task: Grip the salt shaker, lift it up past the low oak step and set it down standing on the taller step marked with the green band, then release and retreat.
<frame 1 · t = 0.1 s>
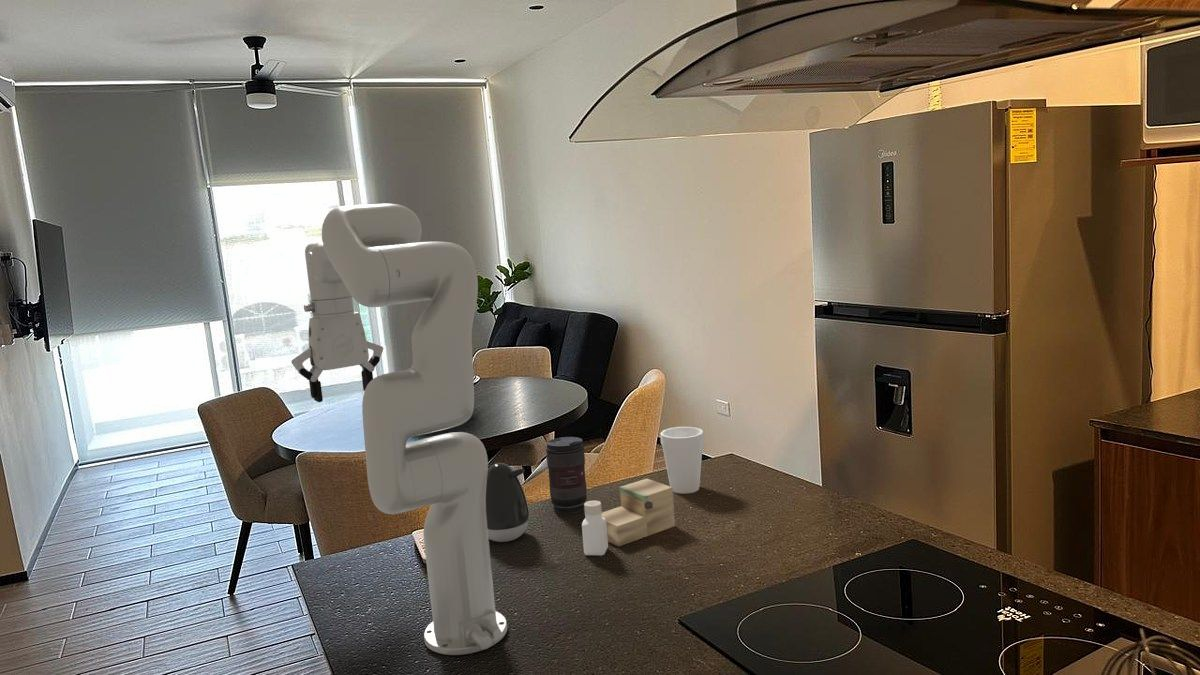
hand: (343, 396, 160), 31 cm above the countertop, tool pointing down, fingers open, 9 cm apart
wooden step block: (634, 530, 164), on the countertop
pump dispenser: (506, 538, 166), on the countertop
foam cup: (685, 489, 186), on the countertop
camera lens: (569, 509, 179), on the countertop
salt shaker: (596, 553, 155), on the countertop
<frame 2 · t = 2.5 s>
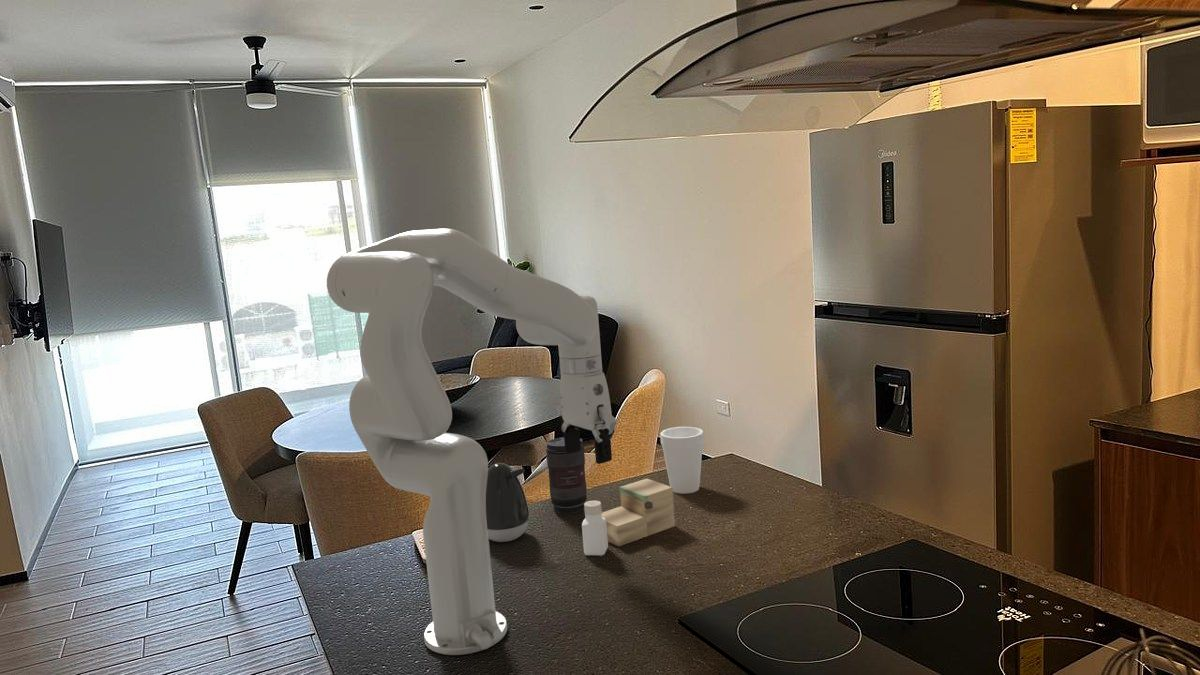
hand: (588, 456, 153), 18 cm above the countertop, tool pointing down, fingers open, 9 cm apart
nothing on the countertop moved.
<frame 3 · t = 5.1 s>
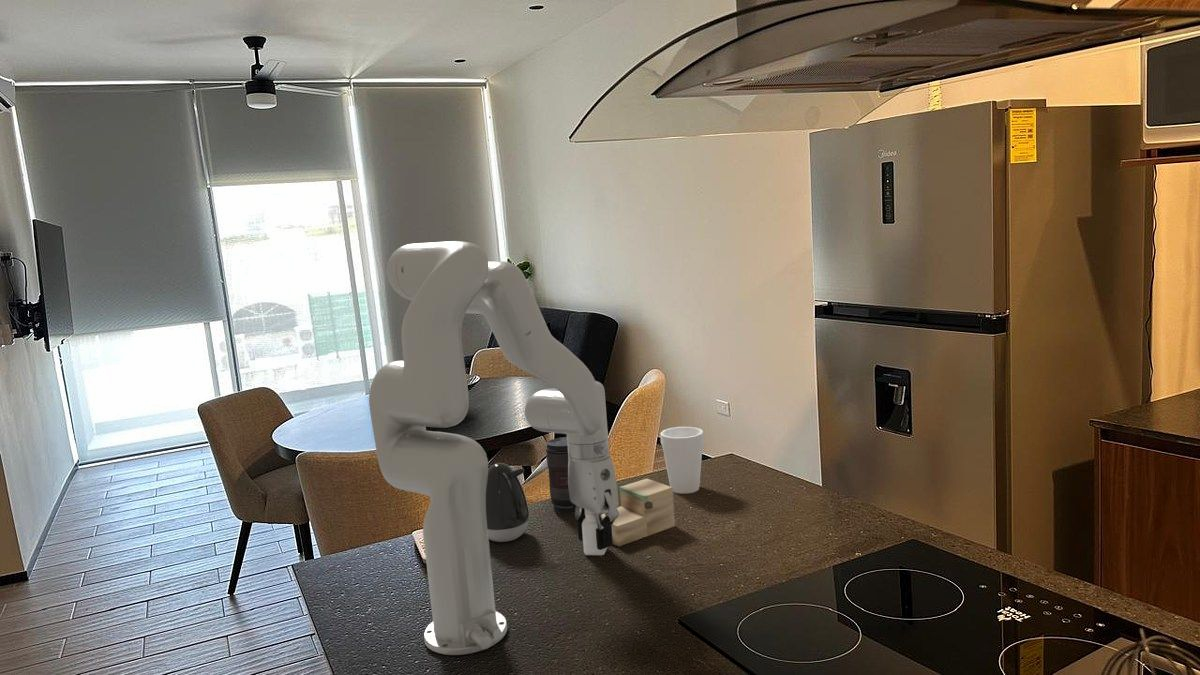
hand: (595, 541, 155), 2 cm above the countertop, tool pointing down, fingers closed on salt shaker, 5 cm apart
salt shaker: (596, 552, 155), on the countertop, touching gripper
everything else where it was.
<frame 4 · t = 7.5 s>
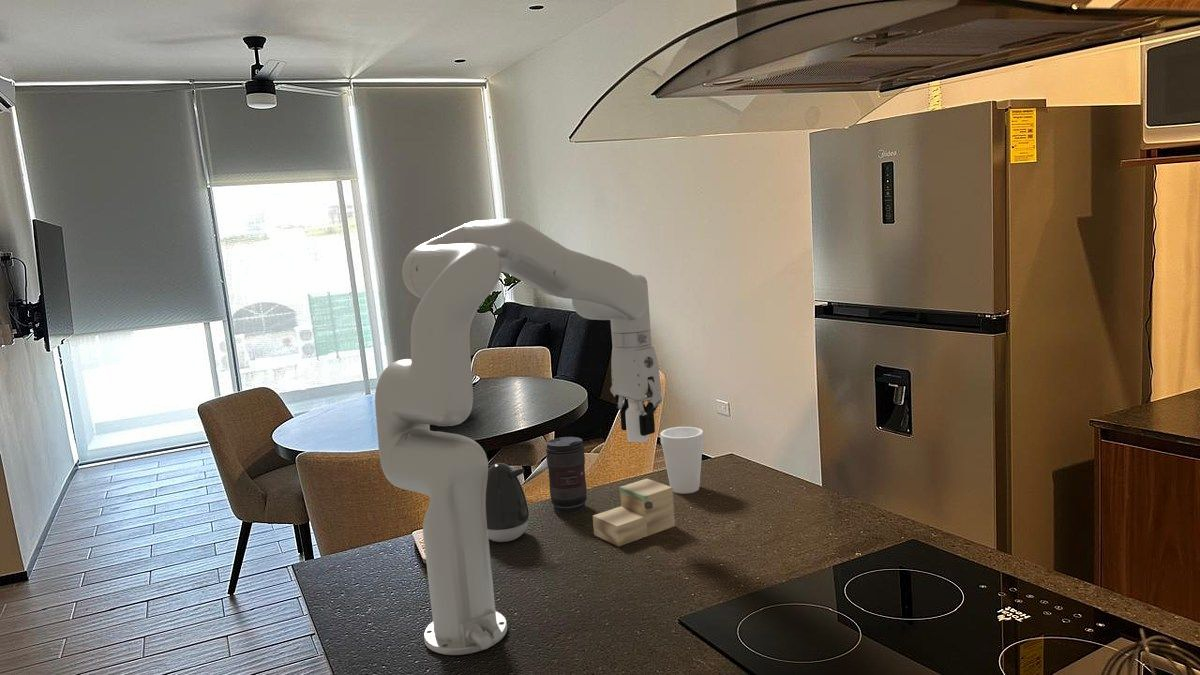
hand: (638, 430, 162), 20 cm above the countertop, tool pointing down, fingers closed on salt shaker, 5 cm apart
salt shaker: (638, 441, 163), point 18 cm above the countertop, touching gripper
everything else where it was.
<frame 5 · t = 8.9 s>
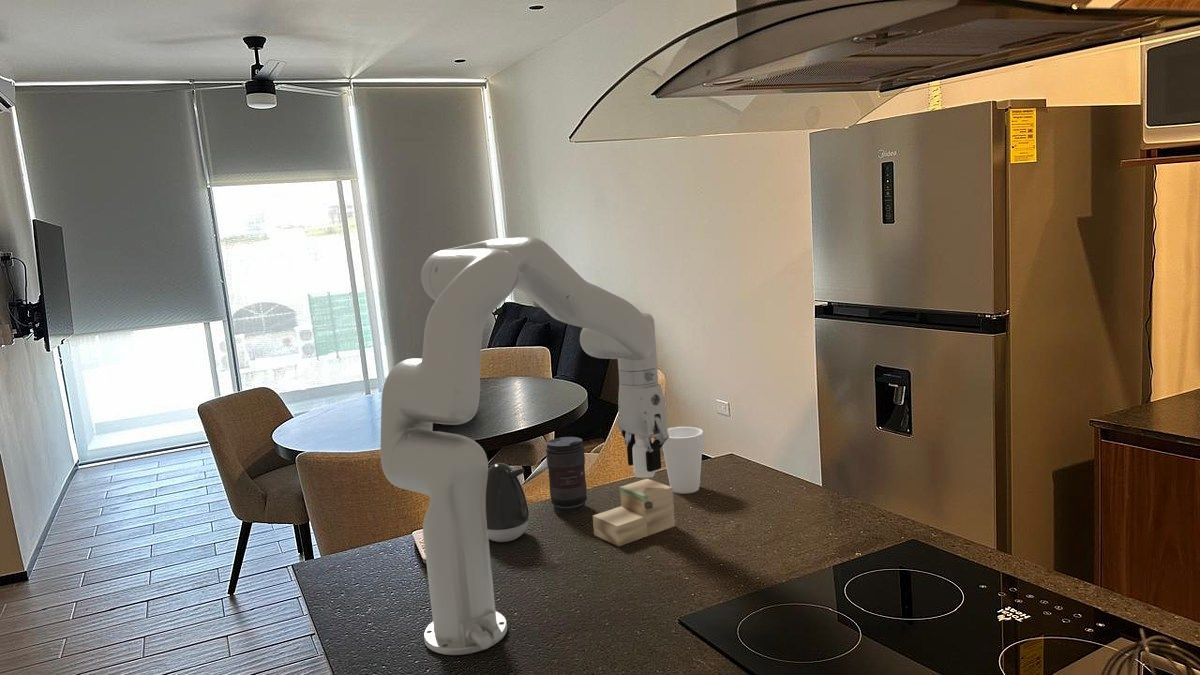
hand: (644, 465, 164), 12 cm above the countertop, tool pointing down, fingers closed on salt shaker, 5 cm apart
salt shaker: (645, 476, 165), point 10 cm above the countertop, touching gripper
everything else where it was.
when the fingers open (11 cm above the countertop, at t = 10.0 s): salt shaker stays where it is, resting on wooden step block.
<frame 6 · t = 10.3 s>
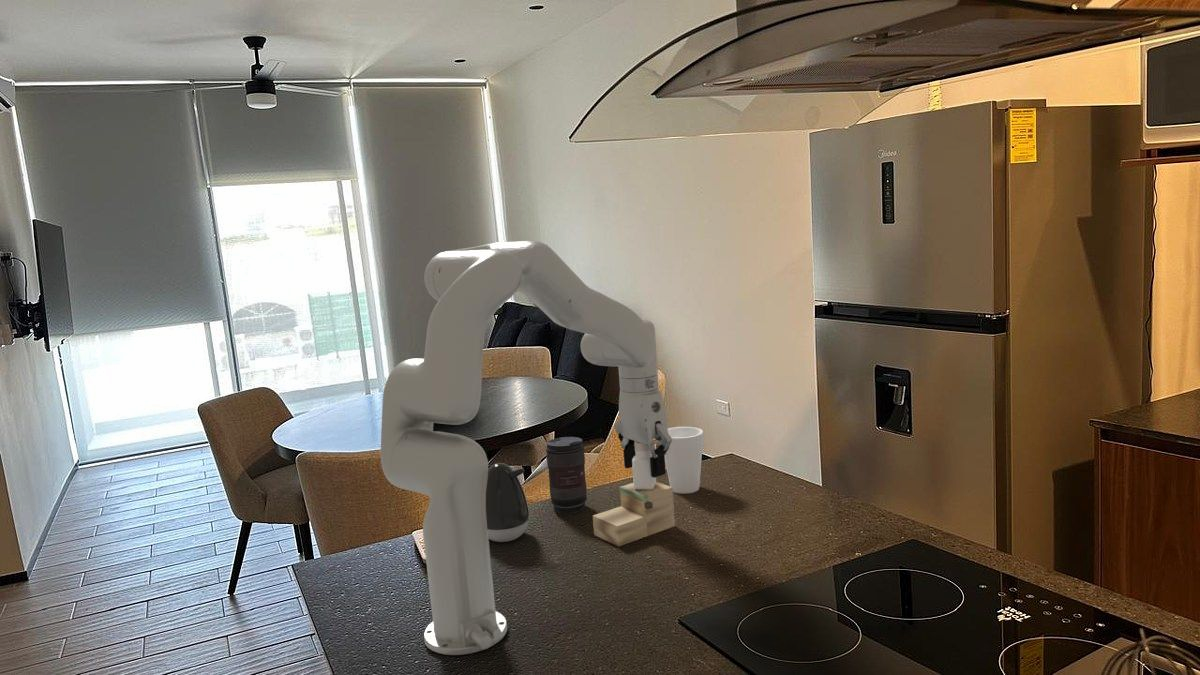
hand: (644, 470, 165), 11 cm above the countertop, tool pointing down, fingers open, 7 cm apart
salt shaker: (645, 488, 165), point 8 cm above the countertop, touching wooden step block
everything else where it was.
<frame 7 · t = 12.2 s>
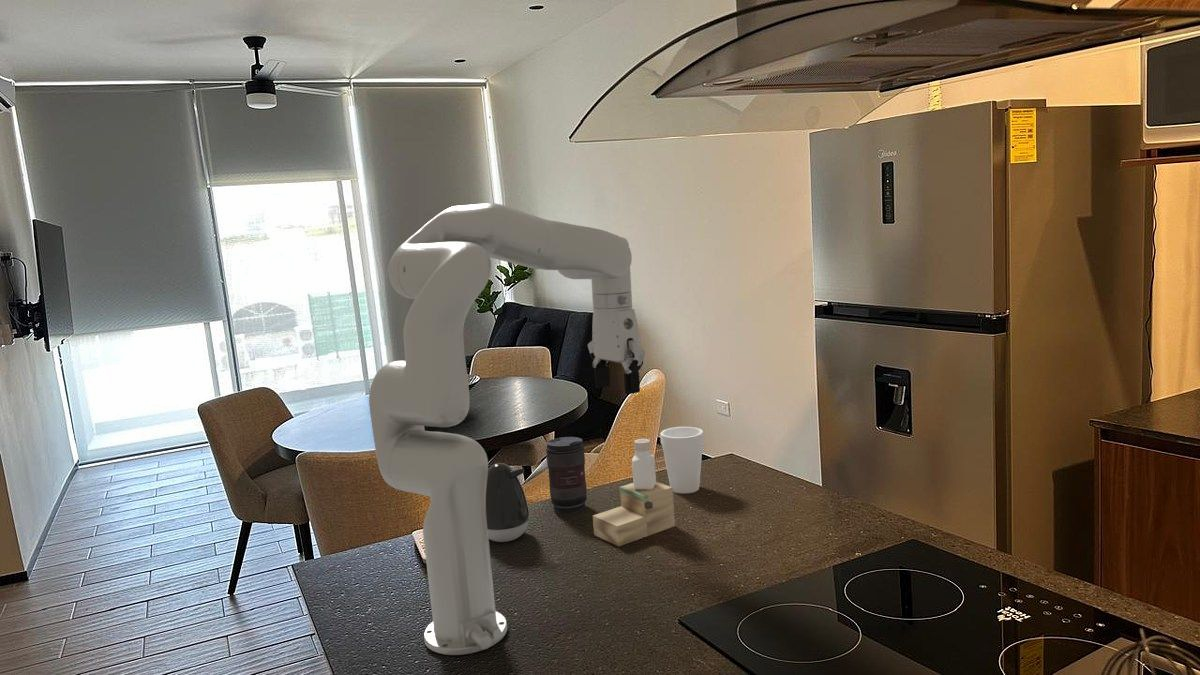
hand: (617, 389, 162), 28 cm above the countertop, tool pointing down, fingers open, 9 cm apart
nothing on the countertop moved.
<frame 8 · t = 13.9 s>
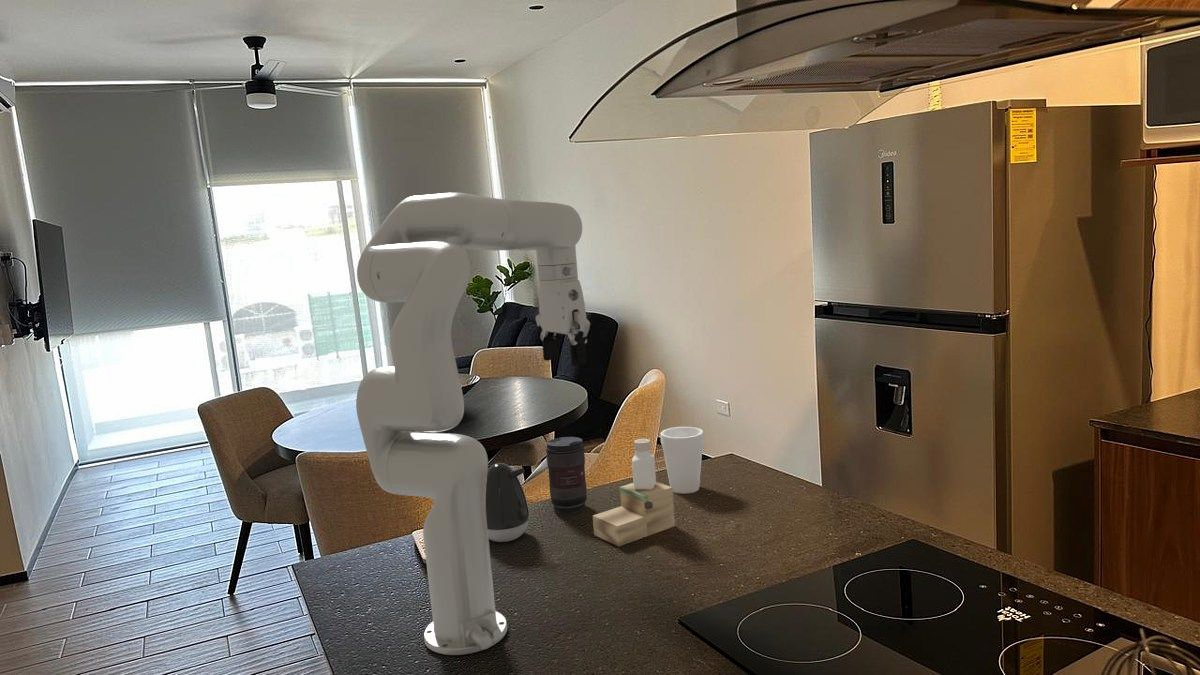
hand: (564, 362, 161), 34 cm above the countertop, tool pointing down, fingers open, 9 cm apart
nothing on the countertop moved.
at the end: salt shaker inside the target area on the wooden step block (0.7 cm from its centre), point 7.8 cm above the wooden step block's base; salt shaker tilted 0°; the gripper is holding nothing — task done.
